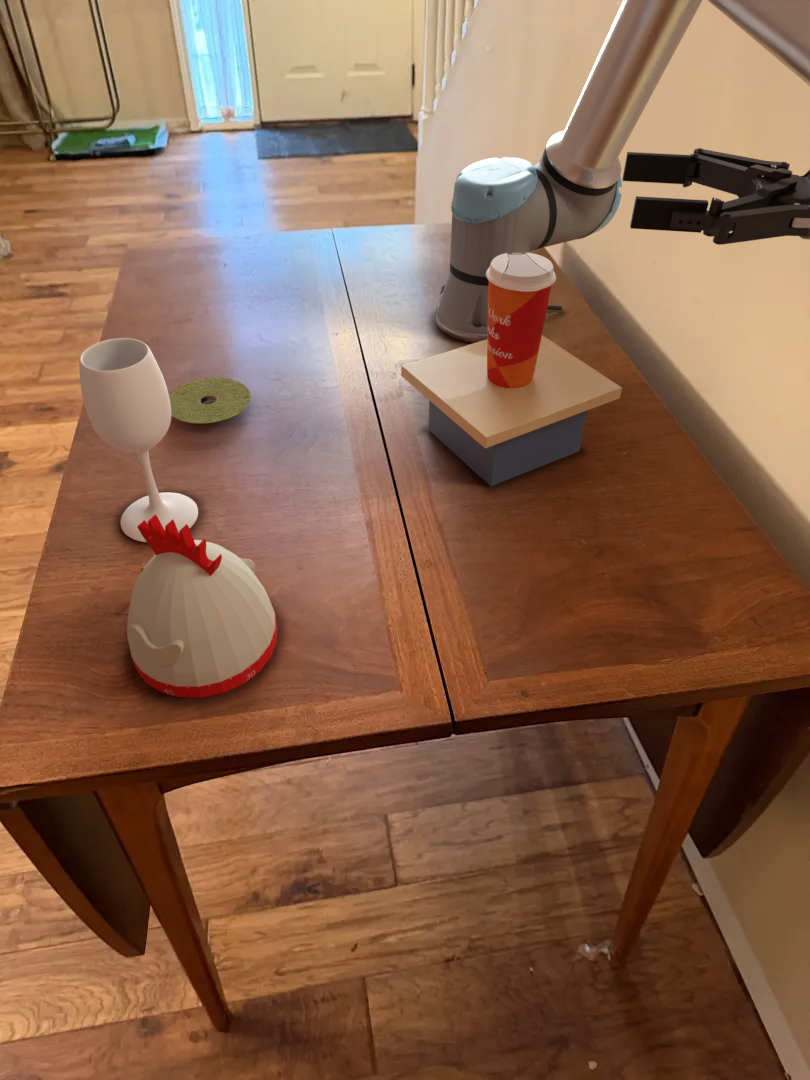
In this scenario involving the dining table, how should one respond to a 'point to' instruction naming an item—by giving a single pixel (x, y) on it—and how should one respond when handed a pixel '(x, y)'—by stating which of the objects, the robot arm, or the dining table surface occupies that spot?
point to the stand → (508, 408)
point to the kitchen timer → (197, 616)
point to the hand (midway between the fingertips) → (628, 188)
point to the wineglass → (132, 421)
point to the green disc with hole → (208, 400)
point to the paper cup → (516, 316)
